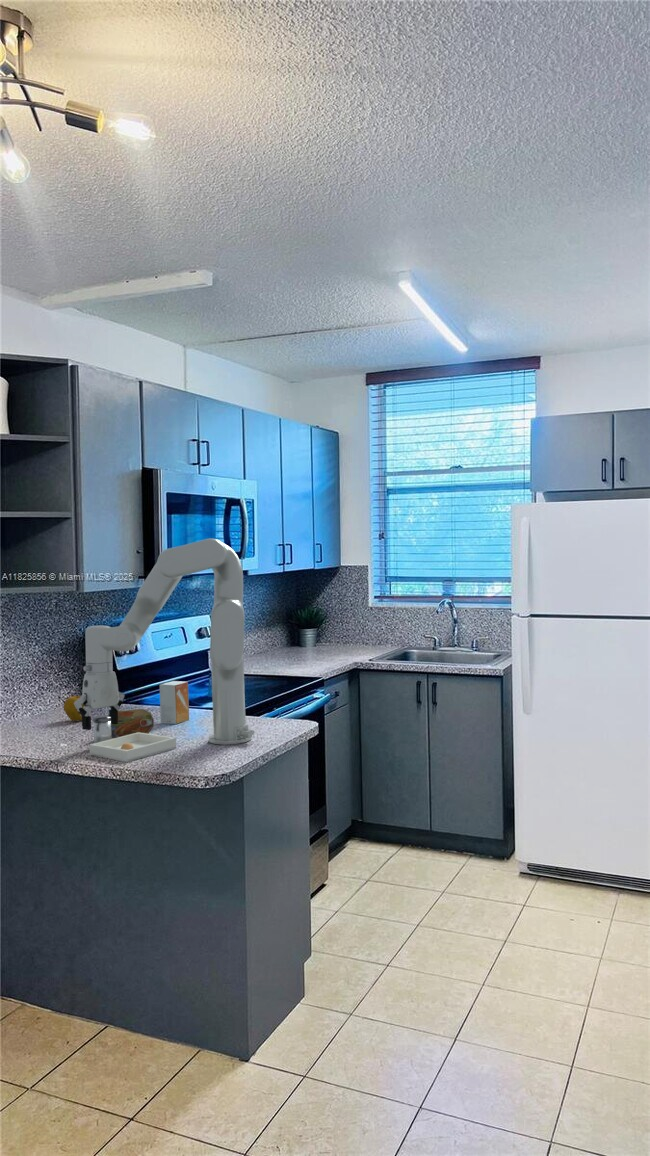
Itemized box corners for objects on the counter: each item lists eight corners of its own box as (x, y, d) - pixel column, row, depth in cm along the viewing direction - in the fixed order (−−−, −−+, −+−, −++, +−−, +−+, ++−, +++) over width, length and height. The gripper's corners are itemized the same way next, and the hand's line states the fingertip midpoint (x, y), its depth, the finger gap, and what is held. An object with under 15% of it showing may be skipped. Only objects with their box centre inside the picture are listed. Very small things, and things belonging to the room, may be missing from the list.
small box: (176, 724, 276) (175, 685, 275) (160, 723, 278) (158, 684, 278) (190, 719, 283) (188, 681, 283) (174, 718, 286) (172, 680, 285)
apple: (74, 724, 281) (73, 697, 281) (58, 722, 287) (57, 695, 286) (96, 719, 288) (95, 693, 288) (80, 717, 294) (79, 691, 294)
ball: (136, 755, 232) (136, 742, 232) (126, 758, 229) (126, 745, 229) (128, 753, 234) (127, 741, 234) (118, 756, 231) (117, 743, 231)
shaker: (116, 746, 246) (114, 716, 246) (101, 750, 242) (100, 719, 242) (104, 744, 249) (103, 714, 249) (90, 748, 245) (89, 717, 245)
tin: (104, 739, 257) (102, 712, 256) (104, 737, 260) (103, 710, 260) (154, 735, 260) (153, 708, 259) (154, 733, 263) (153, 707, 262)
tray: (176, 748, 242) (176, 737, 242) (127, 762, 227) (127, 751, 227) (139, 742, 251) (138, 732, 251) (89, 755, 237) (89, 744, 237)
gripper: (83, 672, 236) (84, 733, 236) (131, 665, 249) (132, 723, 250) (66, 670, 240) (67, 730, 241) (114, 663, 254) (115, 720, 254)
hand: (100, 726), depth 245 cm, fingers open, 9 cm apart
